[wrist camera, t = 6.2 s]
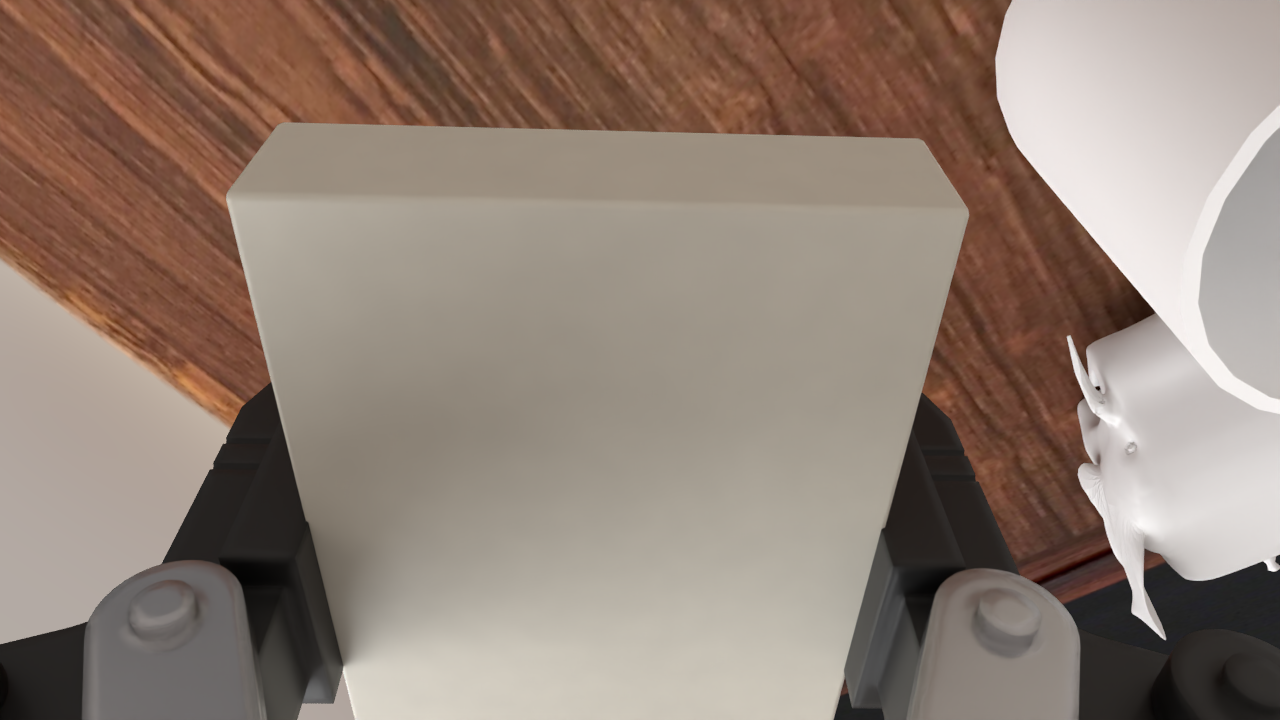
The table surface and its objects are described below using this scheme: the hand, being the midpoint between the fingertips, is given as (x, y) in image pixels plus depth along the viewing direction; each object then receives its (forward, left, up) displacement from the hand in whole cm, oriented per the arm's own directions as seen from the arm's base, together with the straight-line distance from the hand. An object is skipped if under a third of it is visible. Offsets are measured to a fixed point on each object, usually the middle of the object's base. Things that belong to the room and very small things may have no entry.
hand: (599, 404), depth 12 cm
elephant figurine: (+21, +10, -18) cm, 29 cm away
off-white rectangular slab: (0, 0, +2) cm, 2 cm away
